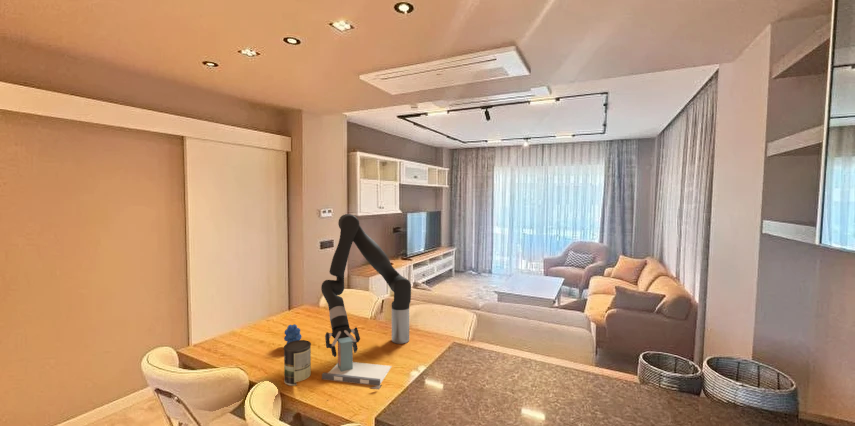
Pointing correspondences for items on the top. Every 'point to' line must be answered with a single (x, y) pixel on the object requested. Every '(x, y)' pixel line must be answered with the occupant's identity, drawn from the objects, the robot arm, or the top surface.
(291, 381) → the coffee can
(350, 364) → the carton
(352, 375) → the shelf
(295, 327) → the grapes
